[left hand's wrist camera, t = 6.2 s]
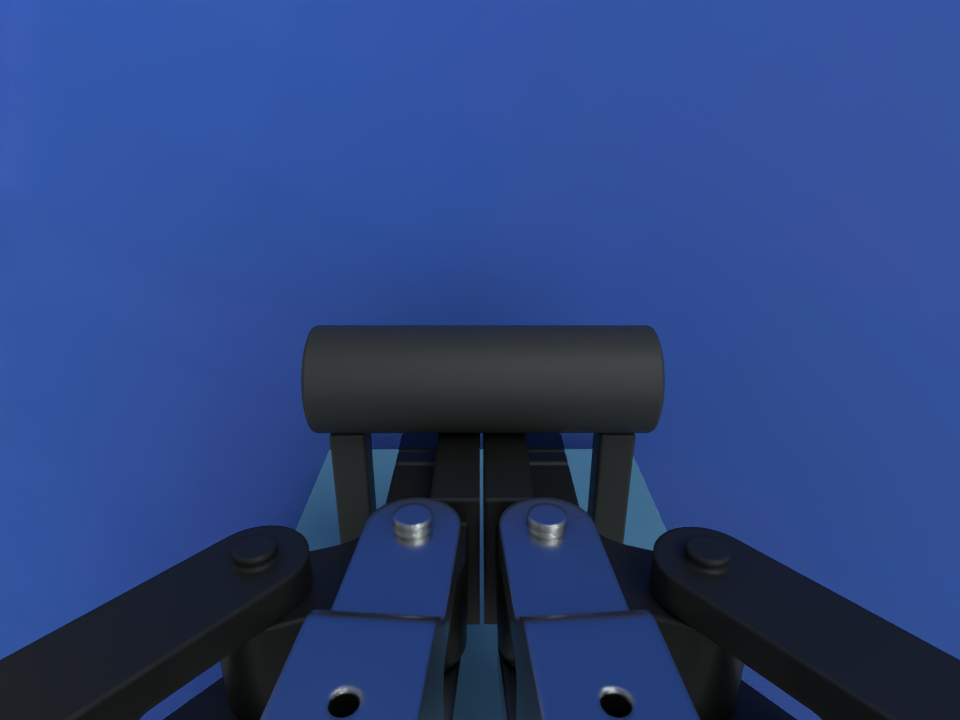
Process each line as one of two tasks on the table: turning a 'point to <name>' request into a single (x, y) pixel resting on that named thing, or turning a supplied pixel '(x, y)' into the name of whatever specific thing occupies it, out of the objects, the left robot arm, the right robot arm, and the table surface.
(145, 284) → the table surface
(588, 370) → the drawer
